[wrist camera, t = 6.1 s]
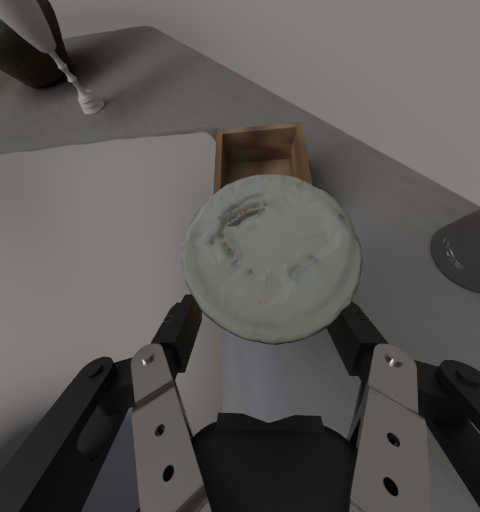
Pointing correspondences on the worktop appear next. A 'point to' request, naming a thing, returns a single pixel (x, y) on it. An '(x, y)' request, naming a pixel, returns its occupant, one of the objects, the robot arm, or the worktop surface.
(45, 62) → the pitcher
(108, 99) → the worktop surface
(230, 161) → the open wooden box
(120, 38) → the worktop surface
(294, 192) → the sauce bottle
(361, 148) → the worktop surface
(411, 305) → the worktop surface
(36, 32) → the chalice
